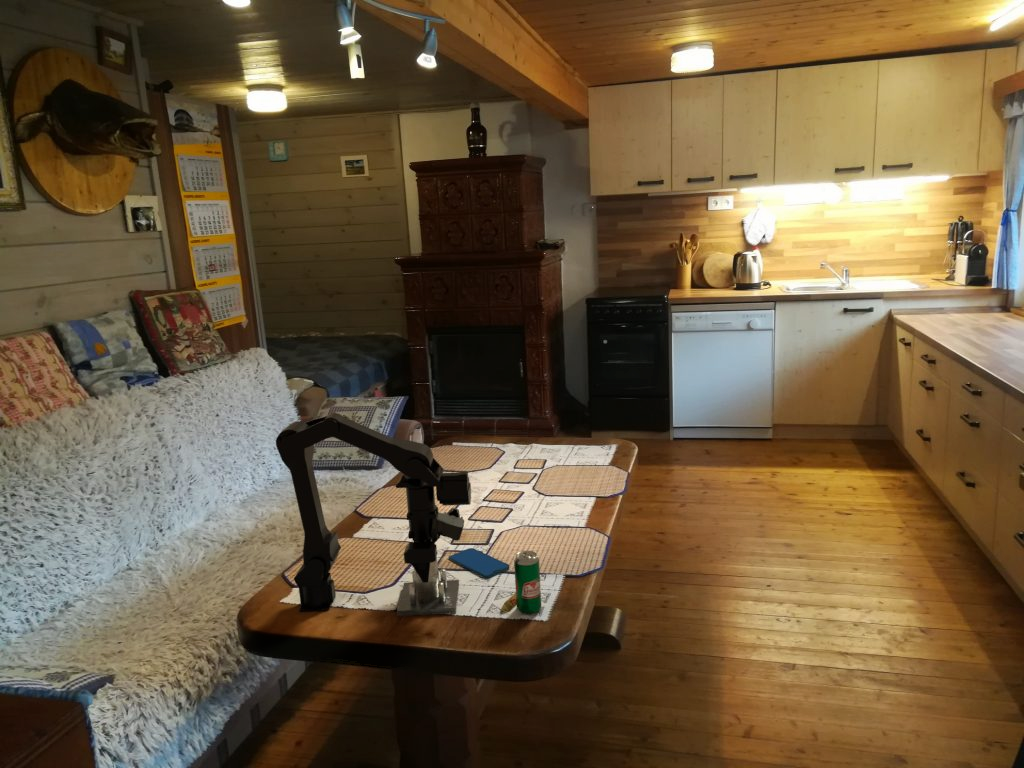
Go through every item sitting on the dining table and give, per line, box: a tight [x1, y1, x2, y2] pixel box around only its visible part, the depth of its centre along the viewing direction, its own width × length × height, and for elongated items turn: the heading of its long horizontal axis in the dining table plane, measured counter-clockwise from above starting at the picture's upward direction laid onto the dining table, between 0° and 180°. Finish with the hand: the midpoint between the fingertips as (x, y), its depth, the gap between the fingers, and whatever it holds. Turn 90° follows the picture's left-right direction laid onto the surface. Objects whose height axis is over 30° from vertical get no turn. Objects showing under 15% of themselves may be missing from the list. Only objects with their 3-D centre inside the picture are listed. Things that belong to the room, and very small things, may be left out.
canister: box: [413, 556, 440, 601], centre depth 160 cm, size 5×5×10 cm
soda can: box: [513, 550, 542, 615], centre depth 154 cm, size 5×5×12 cm
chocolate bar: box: [500, 592, 517, 613], centre depth 161 cm, size 3×12×2 cm, turn 150°
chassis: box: [396, 568, 460, 617], centre depth 161 cm, size 12×12×5 cm
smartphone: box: [448, 547, 510, 579], centre depth 177 cm, size 7×1×15 cm
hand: (427, 575), depth 160 cm, fingers open, 6 cm apart
